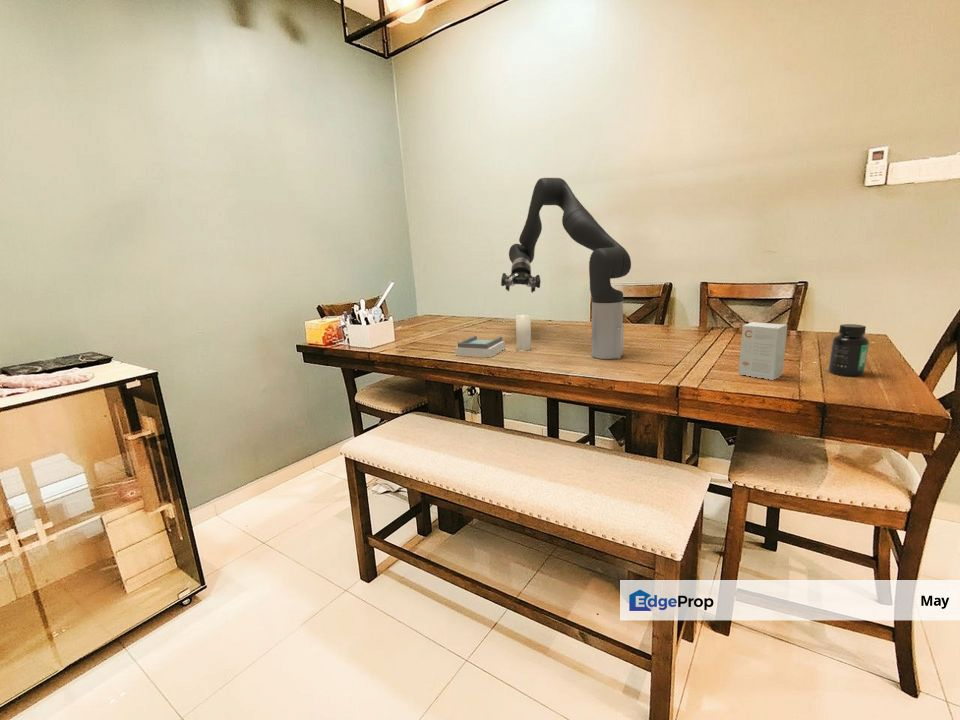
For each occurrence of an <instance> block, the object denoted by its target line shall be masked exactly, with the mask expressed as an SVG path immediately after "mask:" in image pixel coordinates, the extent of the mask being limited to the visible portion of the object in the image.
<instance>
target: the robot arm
mask: <svg viewBox="0 0 960 720" xmlns="http://www.w3.org/2000/svg"><path fill="white" fill-rule="evenodd" d="M532 191H533V192H532V195H531V198H530V204H529V207H528V213H527V217H526V221H525V223H524V226H523V229H522V231H521V233H520V236H519V238H518V242H519V243H513V244H512V245H511V246H510V247H509V251H508V257H509V261H510V262H511V269H510V271H511V272H510V275H507V274H506V273H505V272H503V273H502V276H501V279H500V280H501V281H500V285H501V286H502V287H504V286H505V290H506V291H507V292H510V287H514V286H516V285H523V286H525V287H528V288H530V292H531V293H534V292H536V288H537V289H539V288H541V276H540V275H539V274H536V276H532V267H531V263H532V262H533V261H534V259H535V251H536V250H535V249H536V245H537V242H538V239H539V237H541V233H542V230H543V227H542V226H543V223H542V220H541V216H540V213H541V210H542V208H543V206H557V207H559V208H560V209H561V210H562V212H563V213H562V217H561V218H562V219H561V223H562V227H563V229H564V230H565V232H566V233H567V234H568V236H569V237H570V238H571V239H572V240H573V241H574V242H575V243H577V244H579V245H581V246H583V247H585V248H586V249H587V250H588V249H589V250H590V251H592V253H591V254H590V257H589V262H588V273H589V274H588V275H589V290H590V295H591V350H590V351H591V357H592V358H595V359H599V360H600V359H601V360H602V359H603V360H612V359H614V360H615V359H621V358H622V356H623V355H624V333H625V331H624V330H625V329H624V328H625V327H624V324H623V323H624V321H623V317H624V293H623V291H621V290H620V289H619V290H618V289H616V288H614V287H613V285H611V284H612V283H611V279H620V278H623V277H625V276H627V275H628V274H629V273H630V271H631V269H632V261H631V256H630V254H629V252H628V251H627V250H626V248H625V247H623V246H622V245H621V244H620V243H619V242H618V241H617V240H615V239H614V238H613V237H612V236H611V235H610V234H609V233H608V232H607V231H605V229H604V228H603V227H602V226H601V225H600V224H599V223H598V221H596V219H595V218H594V216H593V215H592V214H591V213H590V212H589V211H588V210H587V209H586V208H585V206H584V205H583V204H582V203H581V202H580V200H579V199H578V198H577V197H576V195H575V193H574V192H573V191H572V189H571V187H570V186H569V184H568V183H567V182H566V181H565V180H564V179H563V178H560V177H541V178H539V179H537V181H536V182H535V185H534V188H533V190H532Z"/></svg>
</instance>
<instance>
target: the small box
mask: <svg viewBox="0 0 960 720" xmlns="http://www.w3.org/2000/svg"><path fill="white" fill-rule="evenodd" d="M787 333H788V324H782V323H770V322H769V323H767V322H754V321H751V322H749V323H745V324H743V325H742V328H741V339H740V340H741V341H740V352H739V361H738V363H739V365H738V375H739V374H740V375H739V376H742V375H746V376H745V377H749V376H751V377H750V378H755V377H757V378H756V379H761V378H764V379H763V380H768V379H769V380H768V381H775V380H777V379H778V378H780V377H781V376H783V372H784V365H785V364H784V363H785V356H786V355H785V354H786V353H785V352H786V344H787V335H788V334H787ZM776 378H777V379H776ZM774 379H775V380H774Z"/></svg>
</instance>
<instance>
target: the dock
mask: <svg viewBox="0 0 960 720" xmlns="http://www.w3.org/2000/svg"><path fill="white" fill-rule="evenodd" d="M454 349H455V356H456V355H457V356H456V357H469V356H472V358H473V357H474V358H486V357H490V358H489V359H491V358H492V356H493V357H495V356H496V355H498V354H500V353H502V352H503V351H505V350H506V341H505V340H503V337H502V336H498V337H496V338H495V339H493V340H490V339H478V336H477V335H474V336H470V337H469V338H466V339H464V340H463V341H460V342H457V346H455V348H454ZM504 349H505V350H504ZM502 350H503V351H502ZM499 352H500V353H499ZM497 353H498V354H497Z"/></svg>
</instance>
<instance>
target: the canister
mask: <svg viewBox="0 0 960 720" xmlns="http://www.w3.org/2000/svg"><path fill="white" fill-rule="evenodd" d="M531 330H532V329H531V314H528V313H526V314H525V313H524V314H522V313H521V314H515V331H516V332H515V333H516V338H515V339H516V350H517V351H519V350H527V351H531V350H532V336H531V335H532V331H531ZM530 349H531V350H530Z"/></svg>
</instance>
